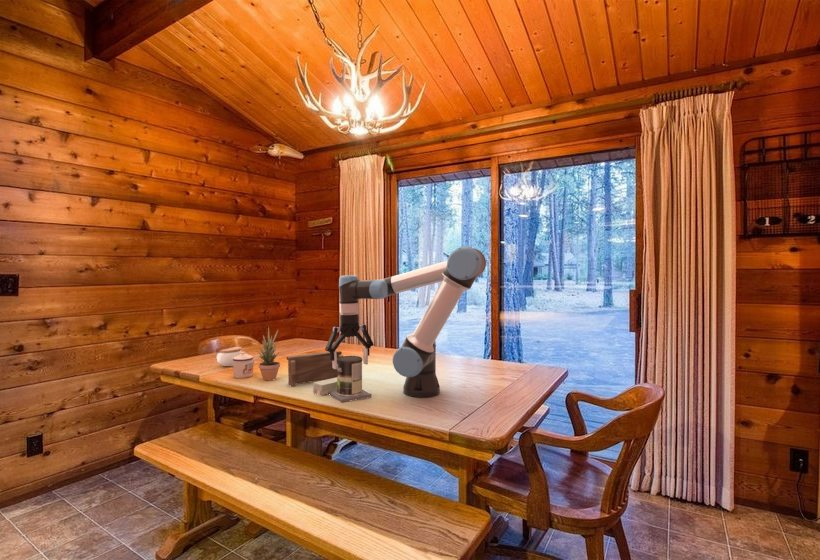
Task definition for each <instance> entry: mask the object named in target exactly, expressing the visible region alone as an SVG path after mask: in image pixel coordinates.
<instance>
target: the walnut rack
mask: <svg viewBox="0 0 820 560" xmlns="http://www.w3.org/2000/svg"><path fill="white" fill-rule="evenodd" d="M335 352H336V354H337V358H339V357H343V356H344V355H343V354H342V351H341V350H335ZM286 361H287V365H288V367H287V369H288V371H287V372H288V381H287V382H288V385H289V386H290V385H291V386H290V387H291V388H294V386H295V387H297V384H296V383H298V384H304V383H303V382H305V383H310V382H309V381H312V382H318V381H322V380H324V379H325V380H327V379H331V378H336V377H337V369H333V368H332V361H331V360H330V352H328V351H324V352H316V353H315V352H314V353H307V354H300V355H299V354H298V355H290V356H286ZM317 380H318V381H317Z"/></svg>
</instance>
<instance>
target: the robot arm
mask: <svg viewBox="0 0 820 560" xmlns="http://www.w3.org/2000/svg"><path fill="white" fill-rule="evenodd" d="M486 266H487V259H486V257H485V255H484V254H483V252H482V251H481V250H480V249H478V248H474V247H471V246H467V245H464V246H460V247H458V248H455V249H454V250H452V251H451V253H450V254H449V255H448V257H447V260H446V261H442V262H441V261H440V262H438V263H434V264H431V265H428V266H424V267H420V268H417V269H413V270H411V271H407V272H404V273H400V274H397V275H393V276H389V277H386V278H380V279H367V280H366V279H365V280H362V279H361V280H360V279H359V277H358V275H340V277H339V279H338V290H339V291H338V292H339V293H338V295H339V313H340V315H339V327H338V326H337V327H336V326H332V328H331V329H332V331H331V334H330V337H329V339H328V340H327V344H326V346H325V348H324V350H325V352H330V360H331V361H332V368H333V369H337V354H336V352H335V351H337V349H338V348H339V346H340V345H341V344H342V342H343V341H344V339H345V338H350V337H352V338H354V337H355V338H357V340H358V341H359V342H360V343H361V344H362V346H364V347H362V352H363V353H362V355H363V357H362V364H364V365H366V366H367V365H368V364H369V356H370V349H371V347H373V346H374V345H375V344H374V342H373V339H372V338H371V336H370V334H369V332H368V330H367V325H366V324H364V323H362V324H359V323H360V320H359V314H358V313H359V312H360V311H359V300H380V299H381V300H382V299H383V300H384V299H386V298H387V297H390V296H393V295H397V294H400V293H404V292H408V291H411V290H412V291H413V290H416V289H419V288H423V287H426V286H427V287H428V286H430V285H434V284H438V283H440V285H439V287H438V288H437V291H436V292H435V294H434V296H433V297H432V299H431V301H430V303H429V305H428V306H427V308H426V310H425V311H424V313H423V314H422V317H421V319H420V321H419V322H418V324H417V326H416V328H415V329H414V330H413V332H412V333H410V334H407V335H406V337H405V339H404V341H403V342H402V344H401V345H400V347H398V348H397V349H396V350H395V352H394V354H393V356H392V364H393V368H394V370H395V371H396V373H397V374H399V375H400V376H403V377H405V382H404V384H403V393H404V394H405V395H406V396H409V397H415V398H431V397H435V396H437V395H440V393H441V386H440V382H439V380H438V376H437V374H436V373H437V372H436V370H437V368H436V367H437V365H436V359H437V358H436V357H437V354H436V350H437V349H436V347H437V344H436V340H437V338H438V337H439V335H440V333H441V331H442V330H443V329H444V326H445V324H446V323H447V321H448V319H449V317H450V315H451V314H452V312H453V310H454V309H455V307H456V305H457V303H458V302H459V300H460V298H461V296H462V294H463V293H464V292H465V291H467V290H470V289H471V288H472V286H473V284H474V282H475V281H476V280H477V278H478V277H480V276H481V275H482V274H483V273H484V271H485V270H486ZM359 331H361V332H362V334H363V336H364V338H363V336H362V335H361V334H360V332H359ZM339 332H340V334H339V335H338V333H339ZM337 335H338V336H337Z"/></svg>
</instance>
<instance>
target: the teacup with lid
mask: <svg viewBox="0 0 820 560" xmlns="http://www.w3.org/2000/svg"><path fill="white" fill-rule="evenodd" d="M254 365H255V360H254V356H253V355H250V354H248V353H246V351H241V354H239V355H238V356H236V357H234V358H233V366H232V367H233V377H234V378H235V379H246V377H247V378H250V376H251V377H253V375H254Z"/></svg>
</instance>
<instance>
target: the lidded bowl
mask: <svg viewBox="0 0 820 560" xmlns="http://www.w3.org/2000/svg"><path fill="white" fill-rule="evenodd" d="M241 352H242V347H241V346H237V345H231V344H227V346H221V347H217V348H216V349H215V355H216V360H217V363H218V364H220V366H221V367H223V366H231V367H233V358H234V357H236V356H238V355H239V354H241Z"/></svg>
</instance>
